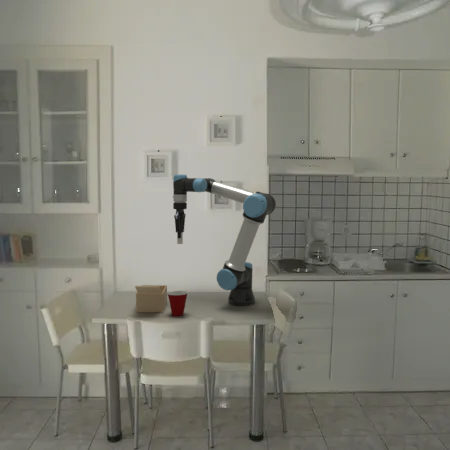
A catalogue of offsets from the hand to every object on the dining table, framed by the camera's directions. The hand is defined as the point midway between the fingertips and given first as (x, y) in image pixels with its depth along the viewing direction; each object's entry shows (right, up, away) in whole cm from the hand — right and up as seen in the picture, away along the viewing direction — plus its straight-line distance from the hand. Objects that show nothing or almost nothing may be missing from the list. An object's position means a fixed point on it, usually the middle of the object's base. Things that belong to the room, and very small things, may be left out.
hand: (179, 243), depth 263 cm
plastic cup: (+1, -35, -26) cm, 44 cm away
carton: (-14, -34, -13) cm, 39 cm away
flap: (-13, -24, -23) cm, 36 cm away
